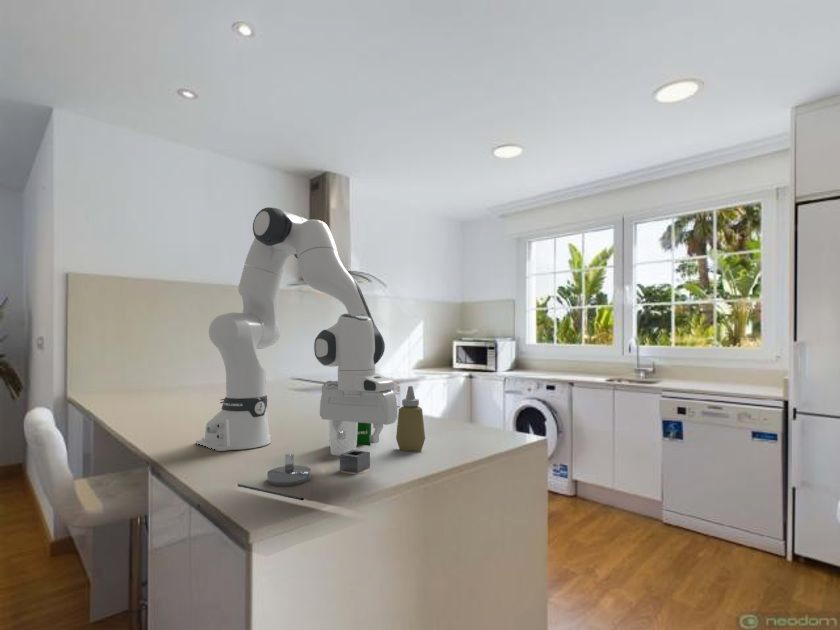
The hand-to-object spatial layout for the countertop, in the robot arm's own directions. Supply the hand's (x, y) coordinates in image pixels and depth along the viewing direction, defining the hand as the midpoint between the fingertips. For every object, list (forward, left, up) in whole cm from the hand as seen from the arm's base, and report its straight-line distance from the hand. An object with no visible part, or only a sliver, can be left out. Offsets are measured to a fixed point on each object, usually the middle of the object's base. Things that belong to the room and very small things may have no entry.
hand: (357, 440), depth 106 cm
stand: (-1, 0, -7) cm, 7 cm away
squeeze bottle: (+2, +23, -8) cm, 24 cm away
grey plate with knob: (-8, -13, -8) cm, 17 cm away
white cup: (-13, +11, -8) cm, 18 cm away
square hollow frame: (0, 0, -6) cm, 6 cm away
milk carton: (-16, +22, -8) cm, 28 cm away
